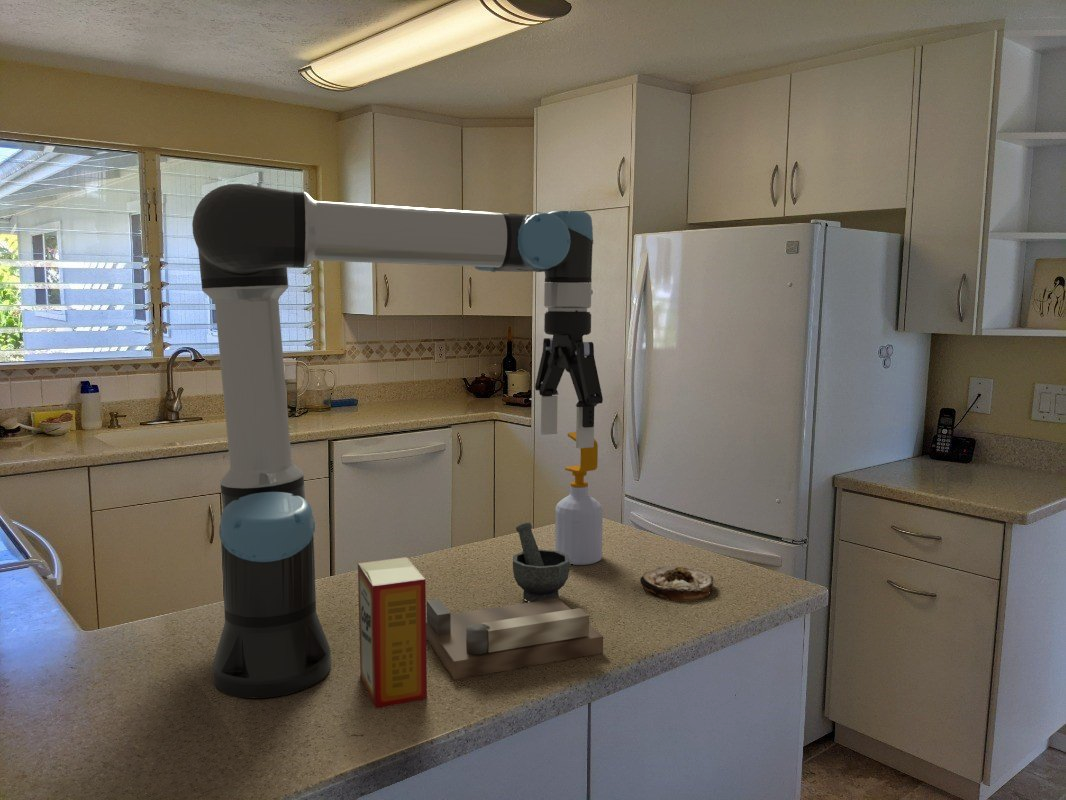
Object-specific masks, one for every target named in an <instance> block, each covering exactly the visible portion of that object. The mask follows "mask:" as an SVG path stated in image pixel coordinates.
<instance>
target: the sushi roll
mask: <svg viewBox="0 0 1066 800" xmlns="http://www.w3.org/2000/svg"><path fill="white" fill-rule="evenodd" d="M640 584H641V587H643V588H642V590H643V589H645V590H644V591H646V592H647V593H648V594H649V593H651V594H650V595H652V594H653V595H652V596H655V595H657V596H656V597H659V596H662V597H661V598H663V597H665V598H664V599H666V600H669V599H670V600H669V601H679V600H680V601H681V602H682V601H683V600H688V601H694V600H693V599H695V600H700V599H703V598H702V597H704V596H705V597H708V598H709V597H710V596H709V595H710V593H709V592H710V591H712V589H711V588H712V587H713V586H714V577H713V576H712V575H710V574H709V573H707V572H706V571H704V570H703V571H702V570H700V569H696V568H695V569H694V568H690V567H686V566H683V567H682V566H675V565H667V566H662V567H661V566H660V567H657V568H655V569H651V570H648V571H646V572H645V573H643V575H642V576H641V577H640ZM710 589H711V590H710ZM667 598H668V599H667ZM699 598H700V599H699ZM680 601H679V602H680ZM683 602H684V601H683Z"/></svg>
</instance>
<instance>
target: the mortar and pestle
mask: <svg viewBox="0 0 1066 800" xmlns="http://www.w3.org/2000/svg"><path fill="white" fill-rule="evenodd" d="M532 528H533V526H532V523H531V522H523V523H520V524H518V525H516V527H515V529H516V532H517V533H518V536H519V540H520V544H521V548H522V551H521V552H519V553H516V554H513V555H512V572H513V578H514V580H515V582H516V583H517V585H518V586H519V587H520V588H521V589H522V590H523V596H522V599H523V598H524V599H526V600H527V601H530V602H535V601H542V600H549V599H556V598H558V599H559V598H560V597H559V595H560V594H559V591H560V589H562V587H564V586H565V583H566V582H567V581H568V578H569V574H570V565H571V564H570V561H569V555H566V554H564V553H561V552H559V551H555V550H551V549H542V548H541V549H540V548H539V547H538V544H537V542H536V539H535V536H534V533H533V530H532ZM559 600H560V599H559Z"/></svg>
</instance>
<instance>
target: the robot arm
mask: <svg viewBox="0 0 1066 800" xmlns="http://www.w3.org/2000/svg"><path fill="white" fill-rule="evenodd" d="M191 224H192V236H193V239H194V242H195V244H196V247H197V250H198V260H199V261H198V262H199V272H200V273H199V274H200V281H201V289H202V290H201V291H202V292H203V293H204V294H205V295H207V297H209V298H210V299H211V300H212V301H213V302H214V307H215V308H214V309H215V318H216V329H217V340H218V350H219V361H220V373H221V382H222V383H221V384H222V392H223V394H222V395H223V407H224V415H225V426H226V434H227V435H226V437H227V448H228V449H227V450H228V456H229V469H228V471H227V472H226V473H225V474H224V476H222V477H221V479H220V492H221V502H222V503H221V504H222V512H221V514H220V515H221V516H220V524H219V528H218V529H219V531H218V532H219V533H218V534H219V539H220V543H221V564H222V566H221V567H222V583H223V584H222V586H223V589H222V590H223V606H224V607H223V608H224V623H223V624H224V625H223V627H222V631H221V634H220V638H219V642H218V645H217V648H216V652H215V654H214V655H215V656H214V658H213V662H212V677H213V679H212V680H213V684H214V686H215V687H216V689H217V690H218V691H220V692H221V693H223V694H226V695H229V696H232V697H236V698H244V699H267V698H273V697H274V698H276V697H281V696H286V695H291V694H295V693H297V692H299V691H303V690H305V689H308V688H310V687H312V686H314V685H317V683H319V682H321V681H322V680H323V679H324V678H326V676H327V675H329V673H330V671H331V669H332V656H331V647H330V645H329V642H328V640H327V637H326V633H325V631H324V629H323V626H322V624H321V621H320V618H319V616H318V613H317V600H316V598H317V596H316V592H317V591H316V568H315V567H316V566H315V565H316V564H315V563H316V562H315V536H314V533H315V532H316V523H315V517H314V513H313V508H312V506H311V504H310V503H309V502H308V501H307V500H306V491H305V480H304V476H305V475H304V471H303V470H302V469H301V468H299V467H298V466H297V465H296V464H294V463H293V461H292V459H293V458H292V452H291V451H292V449H291V448H292V447H291V437H290V424H289V412H288V399H287V391H286V390H287V388H286V377H285V363H284V354H283V353H284V352H283V341H282V340H283V339H282V338H283V337H282V329H281V314H280V304H279V302H280V298H281V296H282V295H283V294H284V293H285V292H287V290H288V288H289V281H288V280H289V278H288V268H297V269H300V268H301V269H303V268H304V269H305V268H307V267H309V266H310V265H311V264H312V263H313V262H315V261H318V262H319V261H320V262H321V261H322V262H323V261H324V262H345V263H346V262H347V263H371V264H372V263H373V264H374V263H375V264H397V265H398V264H399V265H425V266H426V265H427V266H450V267H452V266H453V267H473V268H474V269H476V270H477V271H482V272H483V271H485V272H491V273H496V272H513V273H515V272H519V273H520V272H522V273H523V272H524V273H525V272H528V273H529V272H533V273H534V272H536V273H543V272H544V289H543V290H544V292H543V293H544V297H543V298H544V299H543V301H544V304H543V306H544V307H545V308H547V311H545V313H544V319H543V320H544V323H543V324H544V326H543V327H544V329H543V331H544V333H545V334H546V335H552V337H545V338H543V340H542V341H543V343H542V344H543V345H542V352H541V353H542V354H541V358H540V362H539V366H538V372H537V376H536V380H535V384H534V385H535V386H534V389H535V391H538V394H539V395H540V401H541V402H540V434H541V435H542V436H543V435H544V436H545V435H557V434H558V395H559V392H558V389H557V388H558V387H559V384H560V383H561V380H562V377H563V374H564V372H565V371H566V372H568V374H569V376H570V378H571V383H572V385H573V388H574V391H575V393H576V396H577V400H578V401H577V403H576V404H575V407H576V428H575V429H576V431H575V432H576V441H575V448H576V449H580V448H591V447H594V439H595V407H596V406H597V405H599V404H602V403H603V401H604V399H603V393H602V389H601V385H600V379H599V373H598V368H597V365H596V359H595V345H594V342H592V341H584V338H583V337H584V336H588V335H590V334H591V333H592V314H591V312H590V311H588V309H590V308H591V307H592V295H593V293H594V291H593V289H592V272H593V271H592V269H593V249H594V248H593V247H594V246H593V244H594V236H593V235H594V234H593V231H594V229H593V220H592V217H591V215H590V214H589V212H586V211H579V210H554V211H550V212H534V213H531V214H522V213H504V212H503V213H502V212H496V211H495V212H493V211H478V210H475V211H474V210H462V209H444V208H429V207H414V206H399V205H384V204H369V203H368V204H367V203H366V204H365V203H351V202H338V201H337V202H336V201H335V202H334V201H325V200H324V201H322V200H321V201H320V200H315V199H313V198H312V197H311V196H310V194H309V193H307V192H306V191H297V190H284V189H277V188H276V189H275V188H269V187H262V186H259V185H252V184H245V183H228V184H224V185H221V186H219V187H216V188H214V189H212V190H210V191H209V192H208V193H207V194H206V195H204V196H203V197H202V199H201V200H200V201H199V202H198V204H197V206H196V208H195V211H194V213H193V217H192V222H191Z"/></svg>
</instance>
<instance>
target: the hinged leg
mask: <svg viewBox="0 0 1066 800" xmlns="http://www.w3.org/2000/svg"><path fill="white" fill-rule="evenodd" d="M570 609H571V608H570ZM589 625H590V615H589V614H588V613H587V612H586V611H584V610H583V609H582V608H581V607H579V608H572V609H571V610H564V611H558V612H551V613H545V614H538V615H531V616H525V617H518V618H512V619H505V620H499V621H492V622H486V623H482V624H472V625H469V626H467V628H466V651H467V652H468V653H471V654H484V653H487V652H495V651H501V650H507V649H513V648H519V647H525V646H531V645H537V644H543V643H549V642H555V641H561V640H567V639H573V638H579V637H585V636H589Z"/></svg>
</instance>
